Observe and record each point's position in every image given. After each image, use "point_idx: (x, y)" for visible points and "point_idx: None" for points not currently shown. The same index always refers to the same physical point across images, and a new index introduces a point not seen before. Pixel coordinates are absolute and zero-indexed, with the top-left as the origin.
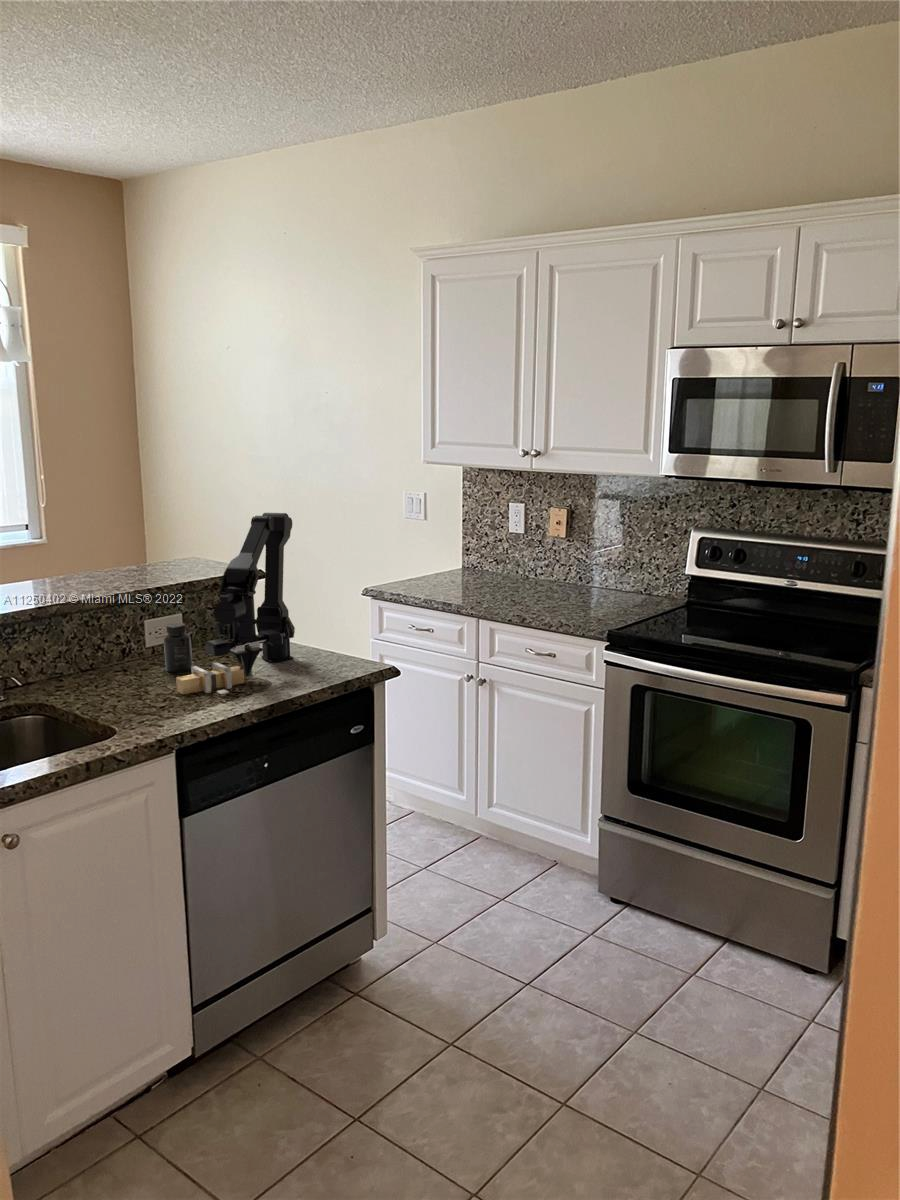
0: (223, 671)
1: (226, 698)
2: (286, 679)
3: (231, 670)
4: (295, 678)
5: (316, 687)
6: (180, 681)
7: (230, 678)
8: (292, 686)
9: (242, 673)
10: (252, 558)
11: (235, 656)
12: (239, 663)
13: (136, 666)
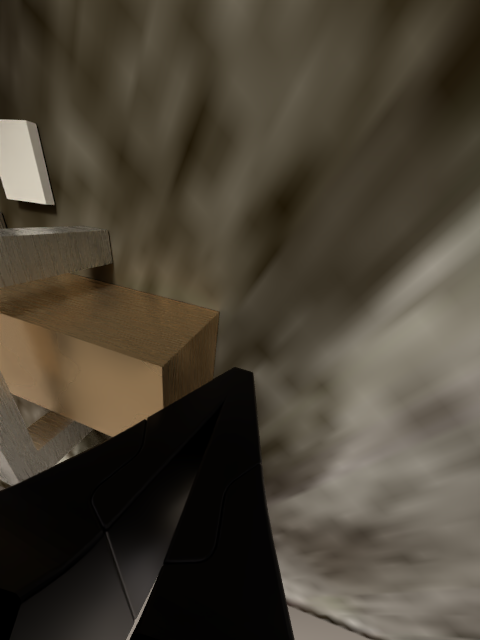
0: (32, 382)
1: (85, 443)
2: (416, 523)
3: (82, 409)
4: (468, 554)
5: (377, 625)
6: None
7: (84, 430)
8: (327, 563)
9: None
10: None
11: (7, 491)
12: (145, 425)
13: None
